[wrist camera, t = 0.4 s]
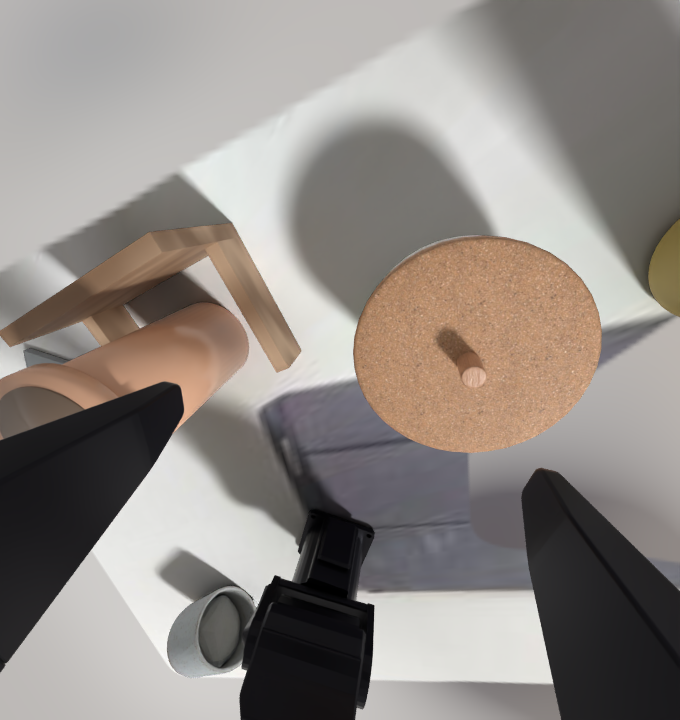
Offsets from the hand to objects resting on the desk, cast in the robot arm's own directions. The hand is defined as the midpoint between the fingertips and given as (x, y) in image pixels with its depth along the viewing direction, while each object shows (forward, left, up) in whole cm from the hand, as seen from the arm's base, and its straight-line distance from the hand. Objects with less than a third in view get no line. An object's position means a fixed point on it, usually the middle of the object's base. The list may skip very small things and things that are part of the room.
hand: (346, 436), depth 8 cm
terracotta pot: (-8, +12, -16) cm, 21 cm away
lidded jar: (0, -4, -16) cm, 17 cm away
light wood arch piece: (-7, +13, -16) cm, 22 cm away
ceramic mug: (-43, +6, -16) cm, 47 cm away
